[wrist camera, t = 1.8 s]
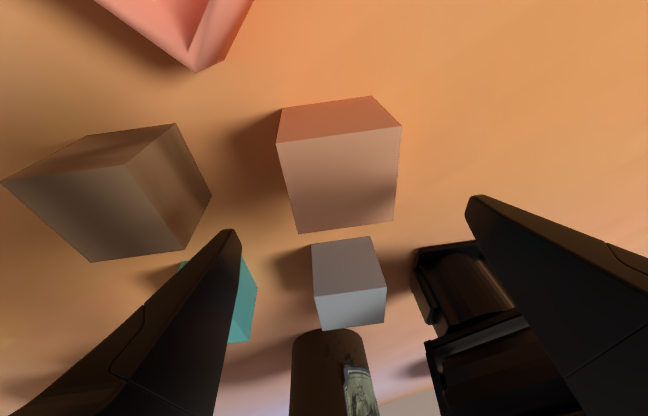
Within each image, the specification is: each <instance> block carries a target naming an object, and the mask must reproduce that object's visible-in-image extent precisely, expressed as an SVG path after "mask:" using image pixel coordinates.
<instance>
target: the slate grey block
mask: <svg viewBox="0 0 648 416" xmlns="http://www.w3.org/2000/svg"><path fill="white" fill-rule="evenodd" d="M311 251H312V270H313V289H314V299H315V303H316V307H317V311H318V315H319V319H320V323H321V327H322V331H326V330H334V329H341V328H348V327H356V326H363V325H371V324H378V323H384V315H385V304H386V293H387V285H386V282H385V279H384V276H383V273H382V270H381V267H380V264H379V261H378V258H377V255H376V252H375V249H374V246H373V243H372V240H371V237H370V236H366V237H359V238H352V239H345V240H337V241H330V242H323V243H315V244H311Z"/></svg>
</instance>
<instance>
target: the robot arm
mask: <svg viewBox="0 0 648 416" xmlns="http://www.w3.org/2000/svg"><path fill="white" fill-rule="evenodd" d="M465 219H466V221H467V223H468V225H469V227H470V229H471V231H472V233H473V235H474V237H475V239H476V241H475V242H468V243H461V244H453V245H446V246H439V247H431V248H424V249H421V250H419V251H418V252H417V256H416V261H415V267H414V269H413V270H412V275H411V280H410V289H411V292H412V293H413V294H414V297H415V299H416V302H417V304H418V306H419V309H420V311H421V313H422V316H423V318H424V321H425V323H426V324H428V325H433V327H434V329H435V331H436V334H437V336H438V338H436V339H434V340H428V341H425V342H424V346H425V350H426V357H427V361H428V365H429V369H430V373H431V377H432V381H433V385H434V389H435V393H436V397H437V401H438V405H439V409H440V414H441V416H648V258H646V257H644V256H641V255H638V254H636V253H633V252H630V251H628V250H625V249H622V248H620V247H617V246H615V245H612V244H610V243H605V242H604V241H602V240H599V239H597V238H594V237H591V236H589V235H586V234H584V233H581V232H579V231H576V230H573V229H571V228H568V227H566V226H563V225H561V224H558V223H555V222H553V221H550V220H548V219H545V218H543V217H540V216H537V215H535V214H532V213H530V212H527V211H525V210H522V209H519V208H517V207H514V206H512V205H509V204H507V203H504V202H501V201H499V200H496V199H494V198H491V197H489V196H486V195H474V196H471V197H470V198H469V201H468V204H467V207H466V210H465ZM241 253H242V246H241V242H240V240H239V238H238V236H237V234H236V232H235V230H234V229H224V230H222V231H220V232H219V233H218V234H217V235H216V236H215V237H214V238H213V239H212V240H211V241H210V242H209V243H208V244H207V245H205V246H204V247H203V248H202V249H201V250H200V251H199V252H198V253H197V254H196V255H195V256H194V257H193V258H192V259H191V260H190V261H189V262H187V263H186V264H185V265H184V266H183V267H182V268H181V269H180V270H179V271H178V272H177V273H176V274H175V275H174V276H173V277H172V278H171V279H169V280H168V281H167V282H166V283H165V284H164V285H163V286H162V287H161V288H160V289H159V290H158V291H157V292H156V293H155V294H154V295H152V296H151V297H150V298H149V299H148V300H147V301H146V302H145V303H144V305H142V306H141V307H140V308H139V309H138V310H137V311H135V312H134V313H133V314H132V315H131V316H130V317H129V318H128V319H127V320H126V321H125V322H124V323H122V324H121V325H120V326H119V327H118V328H117V329H116V330H115V331H114V332H113V333H111V334H110V335H109V336H108V337H107V338H106V339H104V340H103V341H102V342H101V343H100V344H99V345H97V346H96V347H95V348H94V349H93V350H92V351H90V352H89V353H88V354H87V355H86V356H85V357H83V358H82V359H81V360H80V361H79V362H77V363H76V364H75V365H74V366H73V367H71V368H70V369H69V370H68V371H67V372H66V373H64V374H63V375H62V376H61V377H60V378H58V379H57V380H56V381H55V382H54V383H52V384H51V385H50V386H49V387H48V388H47V389H45V390H44V391H43V392H42V393H40V394H39V395H38V396H37V397H35V398H34V399H33V400H31V401H30V402H29V403H27V404H26V405H24V406H23V407H21V408H20V409H18V410H17V411H15V412H13V413H12V414H10V415H8V416H213V412H214V407H215V402H216V397H217V392H218V387H219V382H220V377H221V372H222V367H223V362H224V357H225V352H226V347H227V342H228V337H229V332H230V327H231V322H232V317H233V312H234V307H235V302H236V297H237V292H238V287H239V278H240V265H241Z"/></svg>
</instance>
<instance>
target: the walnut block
mask: <svg viewBox="0 0 648 416" xmlns="http://www.w3.org/2000/svg"><path fill="white" fill-rule="evenodd" d="M0 183H1V184H2V185H3V186H4V187H5V188H7V189H8V190H9V191H10V192H11V193H12V194H13V195H15V196H16V197H17V198H18V199H19V200H20V201H21V202H22V203H24V204H25V205H26V206H27V207H28V208H29V209H30V210H31V211H33V212H34V213H35V214H36V215H37V216H38V217H39V218H41V219H42V220H43V221H44V222H45V223H46V224H47V225H48V226H50V227H51V228H52V229H53V230H54V231H55V232H56V233H57V234H59V235H60V236H61V237H62V238H63V239H64V240H65V241H67V242H68V243H69V244H70V245H71V246H72V247H73V248H74V249H76V250H77V251H78V252H79V253H80V254H81V255H82V256H83V257H85V258H86V259H87V260H88V261H89V262H90V263H92V262H99V261H107V260H114V259H121V258H129V257H136V256H143V255H151V254H158V253H165V252H173V251H180V250H185V248H186V246H187V244H188V242H189V240H190V238H191V236H192V234H193V232H194V230H195V228H196V226H197V224H198V223H199V221H200V219H201V217H202V215H203V213H204V211H205V209H206V207H207V205H208V203H209V201H210V199H211V197H212V195H211V193H210V191H209V189H208V187H207V185H206V183H205V181H204V179H203V177H202V175H201V173H200V171H199V169H198V167H197V165H196V163H195V161H194V159H193V157H192V155H191V153H190V151H189V149H188V147H187V145H186V143H185V141H184V138H183V136H182V134H181V132H180V130H179V128H178V126H177V124H176V123H174V124H167V125H159V126H152V127H145V128H138V129H131V130H124V131H117V132H110V133H102V134H95V135H88V136H86V137H84V138H82V139H80V140H78V141H76V142H74V143H73V144H71V145H69V146H67V147H65V148H63V149H61V150H59V151H57V152H55V153H54V154H52V155H50V156H48V157H46V158H44V159H42V160H40V161H38V162H37V163H35V164H33V165H31V166H29V167H27V168H25V169H23V170H21V171H20V172H18V173H16V174H14V175H12V176H10V177H8V178H6V179H4V180H2V181H1V182H0Z"/></svg>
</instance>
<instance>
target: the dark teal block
mask: <svg viewBox="0 0 648 416" xmlns="http://www.w3.org/2000/svg"><path fill="white" fill-rule="evenodd" d="M187 262H189V261H184V262H182V263H181V265H180V267H179V269H178V271H179V270H180V269H181V268H182V267H183V266H184V265H185V264H186V263H187ZM178 271H177V272H178ZM256 294H257V286H256V284H255V282H254V280H253V278H252V276H251V274H250V272H249V270H248V268H247V266H246V264H245V262H244V260H243V258H242V256H241V265H240V278H239V287H238V292H237V297H236V302H235V307H234V312H233V317H232V322H231V327H230V332H229V337H228V342H227V344H230V343H238V342H245V341H249V337H250V331H251V325H252V319H253V312H254V306H255V300H256Z"/></svg>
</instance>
